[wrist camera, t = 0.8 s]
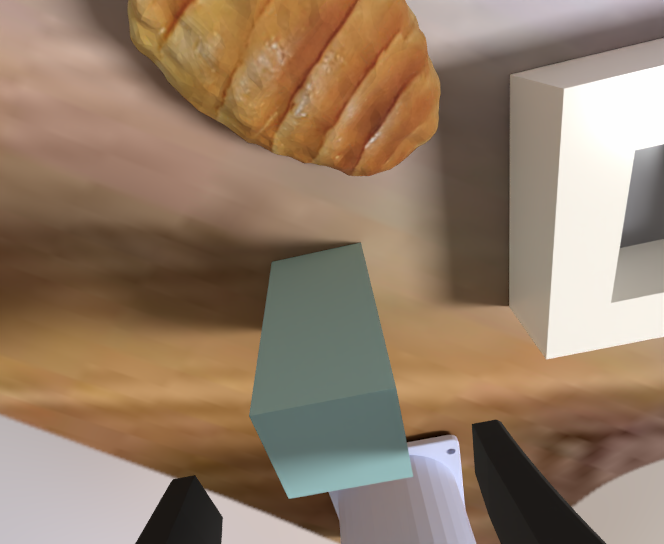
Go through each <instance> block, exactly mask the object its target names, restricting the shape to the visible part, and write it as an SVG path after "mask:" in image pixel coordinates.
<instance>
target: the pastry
mask: <svg viewBox="0 0 664 544" xmlns="http://www.w3.org/2000/svg"><path fill="white" fill-rule="evenodd" d="M127 13H128V18H129V26H130V38H131V40H132V42H133V44H134V45H135V46H136V48H137V49H138V51H139V52H141V53H142V54H144V55H145V56H147V57H148V58H149V59H150V60H151V61H152V62H153V63H154V64H155V65H156V66H157V67H158V68H159V69H160V70H161V71H162V72H163V74H164V76H165V78H166V79H167V81H168V82H169V83H170V84H171V85H172V86H173V87H174V88H175V89H176V90H177V91H178V92H179V93H180V94H181V95H182V97H184V98H185V99H186V100H187V101H188V102H190V103H191V104H192V105H193V106H194V107H195V108H196V109H197V110H199V111H200V112H202V113H204V114H206V115H207V116H209V117H211V118H213V119H215V120H216V121H218V122H220V123H222V124H224V125H225V126H227V127H229V128H230V129H231V130H232V131H233V132H235V133H236V134H237V135H239V136H240V137H241V138H242V139H244V140H245V141H247V142H248V143H254V144H257V145H260V146H262V147H264V148H265V149H267V150H269V151H271V152H272V153H275V154H278V155H284V156H289V157H292V158H294V159H296V160H298V161H301V162H303V163H314V164H317V165H323V166H328V167H331V168H334V169H337V170H340V171H342V172H343V173H345V174H347V175H350V176H371V175H374V174H377V173H379V172H383V171H386V170H390V169H392V168H393V167H394V166H396V165H398V164H399V163H400V162H402V161H403V160H404V159H405V158H406V157H408V156H409V155H410V154H411V153H412V152H413V151H414V150H415V149H416V148H417V147H419V146H421V145H423V144H425V143H426V142H427V141H428V140H430V138H431V137H432V136H433V135H434V134H435V132H436V130H437V128H438V121H439V115H438V112H439V99H440V95H441V91H440V81H439V77H438V75H437V73H436V71H435V69H434V67H433V64H432V61H431V59H430V58H429V56H428V52H427V44H426V38H425V36H424V34H423V32H421V30H420V29H419V25H418V22H417V19H416V16H415V15H414V14H413V12H412V11H411V9H410V8H409V6H408V5H407V3H406V1H405V0H128V9H127Z"/></svg>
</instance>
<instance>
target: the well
mask: <svg viewBox="0 0 664 544" xmlns="http://www.w3.org/2000/svg"><path fill="white" fill-rule="evenodd" d="M509 307H510V309H511V310H512V312H513V313H514V314H515V316H516V317H517V319H518V320H519V321H520V323H521V324H522V326H523V327H524V329H525V330H526V331H527V333H528V334H529V336H530V337H531V338H532V340H533V341H534V343H535V344H536V345H537V347H538V348H539V350H540V351H541V353H542V354H543V355H544V357H545V358H546V359H550V358H555V357H561V356H566V355H571V354H576V353H581V352H587V351H592V350H597V349H602V348H607V347H612V346H618V345H623V344H628V343H633V342H638V341H644V340H649V339H654V338H659V337H664V38H661V39H656V40H652V41H648V42H644V43H640V44H635V45H631V46H627V47H623V48H619V49H615V50H610V51H606V52H602V53H598V54H594V55H590V56H585V57H581V58H577V59H573V60H569V61H564V62H560V63H556V64H552V65H548V66H544V67H539V68H535V69H531V70H527V71H523V72H519V73H514V74H510V224H509Z"/></svg>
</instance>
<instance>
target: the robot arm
mask: <svg viewBox="0 0 664 544" xmlns="http://www.w3.org/2000/svg"><path fill="white" fill-rule="evenodd" d="M472 433H473V448H474V464H475V474H476V477H477V480H478V483H479V486H480V490H481V493H482V496H483V499H484V502H485V505H486V508H487V511H488V514H489V517H490V519H491V521H492V524H493V526H494V529H495V531H496V533H497V536H498V538H499V540H500V543H501V544H606V543H605V542H604V541H603V540H602V539H601V538H600V537H599V536H598V535H597V534H596V533H595V532H594V531H593V530H592V529H591V528H590V527H589V526H588V524H587V523H586V522H585V521H584V520H583V519H582V518H581V517H580V516H579V515H578V514H577V513H576V512H575V511H574V510H573V508H572V507H571V506H570V505H569V504H568V503H567V502H566V501H565V500H564V499H563V497H562V496H561V495H560V494H559V493H558V492H557V491H556V490H555V489H554V487H553V486H552V485H551V484H550V483H549V482H548V481H547V479H546V478H545V477H544V476H543V475H542V474H541V473H540V471H539V470H538V469H537V468H536V467H535V465H534V464H533V463H532V462H531V460H530V459H529V458H528V457H527V456H526V454H525V453H524V452H523V451H522V449H521V448H520V447H519V446H518V444H517V443H516V442H515V440H514V439H513V438H512V436H511V435H510V434H509V432H508V431H507V430H506V428H505V427H504V425H503V424H502V423H501V422H500V421H498V420H492V421H486V422H481V423H475V424H472ZM407 447H408V452H409V457H410V462H411V467H412V472H413V477H409V478H403V479H398V480H392V481H386V482H381V483H375V484H370V485H364V486H358V487H353V488H347V489H342V490H336V491H330V492H329V495H330V497H331V500H332V502H333V505H334V507H335V510H336V513H337V515H338V518H339V521H340V536H341V544H476V542H475V538H474V535H473V532H472V529H471V526H470V523H469V520H468V517H467V514H466V511H465V502H464V492H463V481H462V470H461V460H460V449H459V442H458V440H457V437H456V436H454V435H445V436H439V437H434V438H428V439H423V440H417V441H412V442H407ZM222 519H223V517H222V516H221V514H220V513H219V511H218V509H217V508H216V506H215V505H214V503H213V502H212V500H211V499H210V498H209V496H208V494H207V493H206V491H205V490H204V488H203V487H202V485H201V483H200V482H199V480H198V479H197V477H196V476H195V475H194V476H189V477H183V478H178V479H173V480H172V482H171V483H170V485H169V486H168V488H167V490H166V492H165V493H164V495H163V497H162V498H161V500H160V502H159V504H158V505H157V507H156V509H155V511H154V512H153V514H152V516H151V518H150V519H149V521H148V523H147V524H146V526H145V528H144V530H143V532H142V533H141V535H140V536H139V538H138V540H137V542H136V543H135V544H221V538H222Z"/></svg>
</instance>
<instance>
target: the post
mask: <svg viewBox="0 0 664 544" xmlns="http://www.w3.org/2000/svg"><path fill="white" fill-rule="evenodd" d="M249 417H250V419H251V421H252V423H253V425H254V427H255V429H256V431H257V433H258V435H259V438H260V440H261V442H262V444H263V446H264V448H265V450H266V452H267V454H268V456H269V458H270V461H271V463H272V465H273V467H274V469H275V471H276V473H277V475H278V477H279V479H280V481H281V484H282V486H283V488H284V490H285V492H286V494H287V496H288V498H289V499H291V498H297V497H302V496H308V495H314V494H319V493H325V492H330V491H336V490H342V489H347V488H353V487H358V486H364V485H370V484H375V483H381V482H386V481H392V480H398V479H403V478H409V477H413V472H412V467H411V462H410V457H409V452H408V447H407V442H406V436H405V431H404V426H403V421H402V416H401V411H400V406H399V401H398V396H397V390H396V386H395V382H394V378H393V373H392V369H391V365H390V361H389V357H388V353H387V349H386V345H385V340H384V336H383V332H382V328H381V324H380V320H379V316H378V312H377V307H376V303H375V299H374V295H373V291H372V287H371V283H370V279H369V274H368V270H367V266H366V262H365V258H364V254H363V250H362V246H361V243H356V244H352V245H347V246H343V247H338V248H333V249H329V250H324V251H320V252H315V253H311V254H306V255H301V256H297V257H292V258H288V259H283V260H278V261H274V262H272V264H271V271H270V278H269V285H268V292H267V298H266V305H265V312H264V319H263V326H262V333H261V339H260V346H259V353H258V360H257V367H256V374H255V380H254V387H253V394H252V401H251V408H250V414H249Z"/></svg>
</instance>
